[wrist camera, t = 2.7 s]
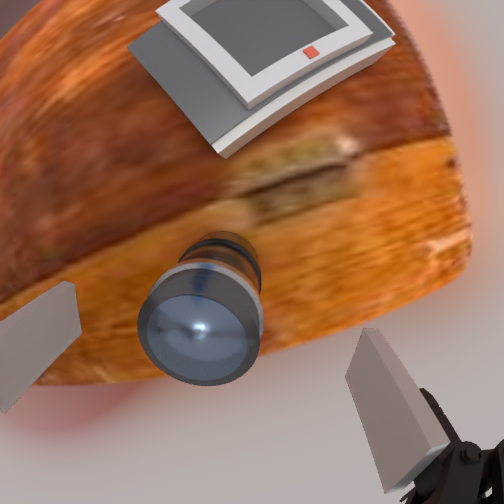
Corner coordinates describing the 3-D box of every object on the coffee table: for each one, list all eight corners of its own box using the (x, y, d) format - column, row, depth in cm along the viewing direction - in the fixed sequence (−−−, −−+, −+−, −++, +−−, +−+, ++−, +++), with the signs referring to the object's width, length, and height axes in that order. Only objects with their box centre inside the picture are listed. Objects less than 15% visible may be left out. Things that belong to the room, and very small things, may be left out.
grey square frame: (226, 159, 18) (211, 148, 12) (153, 72, 16) (114, 36, 10) (376, 62, 16) (415, 28, 9) (299, -13, 14) (310, -60, 7)
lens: (219, 312, 21) (194, 405, 11) (172, 258, 20) (109, 323, 10) (276, 272, 20) (292, 354, 10) (229, 212, 19) (200, 247, 9)
